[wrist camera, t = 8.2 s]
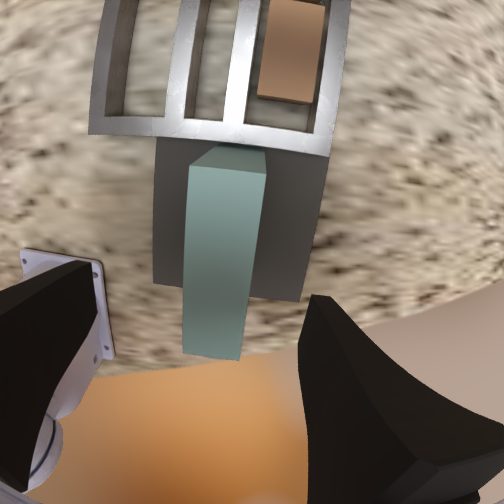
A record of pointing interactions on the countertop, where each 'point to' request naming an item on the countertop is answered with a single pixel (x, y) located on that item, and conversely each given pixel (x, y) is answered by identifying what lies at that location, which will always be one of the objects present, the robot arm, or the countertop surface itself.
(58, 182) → the countertop surface
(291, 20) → the walnut offcut
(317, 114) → the rack
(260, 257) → the dark grey square plate
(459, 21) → the countertop surface
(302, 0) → the walnut offcut
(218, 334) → the teal panel
